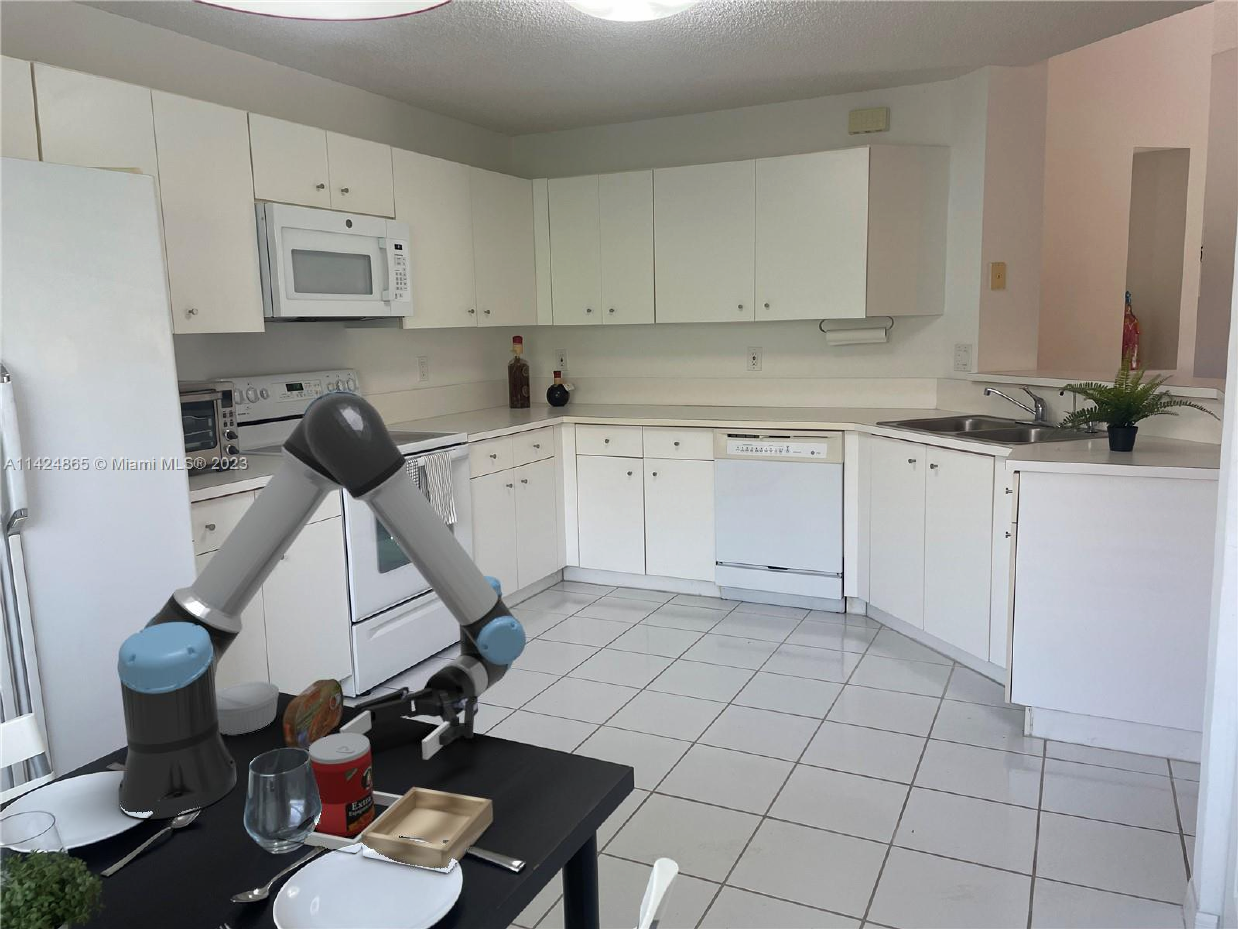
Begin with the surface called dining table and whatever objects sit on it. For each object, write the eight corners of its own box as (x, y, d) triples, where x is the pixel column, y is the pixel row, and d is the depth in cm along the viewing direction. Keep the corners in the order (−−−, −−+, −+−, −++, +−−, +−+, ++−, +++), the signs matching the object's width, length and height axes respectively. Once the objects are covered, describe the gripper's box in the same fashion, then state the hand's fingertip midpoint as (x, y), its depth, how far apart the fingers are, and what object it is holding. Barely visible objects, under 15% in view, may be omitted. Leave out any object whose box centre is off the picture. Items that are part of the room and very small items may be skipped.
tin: (300, 760, 134) (296, 709, 133) (281, 759, 135) (277, 707, 133) (346, 718, 149) (343, 671, 147) (329, 717, 149) (326, 670, 148)
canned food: (358, 841, 112) (352, 761, 110) (301, 835, 114) (295, 756, 112) (385, 810, 119) (380, 734, 118) (332, 804, 121) (326, 730, 119)
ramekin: (196, 740, 142) (193, 709, 141) (225, 711, 153) (223, 682, 152) (266, 738, 142) (263, 707, 141) (290, 709, 153) (287, 680, 152)
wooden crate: (362, 856, 109) (361, 834, 108) (414, 807, 120) (413, 786, 119) (447, 873, 105) (446, 851, 104) (493, 821, 116) (492, 800, 116)
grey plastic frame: (279, 839, 113) (278, 828, 113) (335, 794, 124) (334, 784, 124) (355, 854, 109) (354, 843, 109) (406, 806, 120) (405, 796, 120)
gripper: (525, 717, 141) (461, 781, 121) (391, 699, 149) (311, 757, 129) (523, 673, 140) (459, 730, 120) (389, 657, 148) (308, 709, 128)
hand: (382, 744), depth 124 cm, fingers open, 13 cm apart
